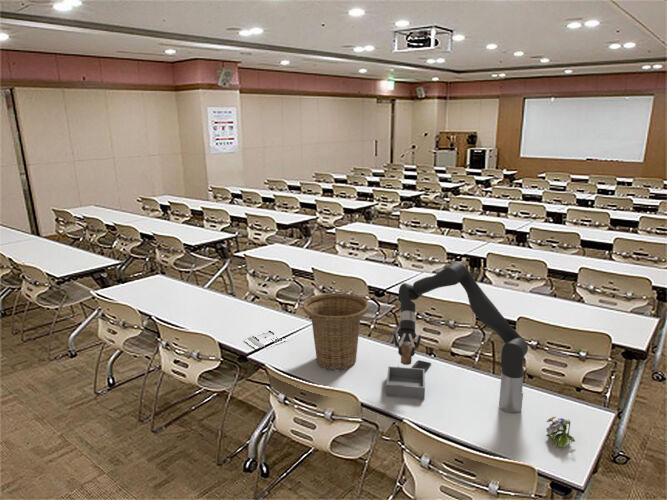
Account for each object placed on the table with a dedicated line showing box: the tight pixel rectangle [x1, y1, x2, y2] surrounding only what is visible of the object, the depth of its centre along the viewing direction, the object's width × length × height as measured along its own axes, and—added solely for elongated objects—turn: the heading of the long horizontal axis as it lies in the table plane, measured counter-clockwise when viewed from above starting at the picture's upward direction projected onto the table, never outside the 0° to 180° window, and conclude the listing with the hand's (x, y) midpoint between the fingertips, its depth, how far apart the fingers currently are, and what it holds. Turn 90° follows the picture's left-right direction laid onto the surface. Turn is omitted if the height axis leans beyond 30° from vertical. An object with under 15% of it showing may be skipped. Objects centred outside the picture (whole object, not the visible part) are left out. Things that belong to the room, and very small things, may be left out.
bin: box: [385, 365, 426, 400], centre depth 237 cm, size 18×18×6 cm
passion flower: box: [545, 416, 576, 449], centre depth 197 cm, size 11×11×12 cm
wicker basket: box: [302, 292, 370, 371], centre depth 261 cm, size 35×35×33 cm
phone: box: [411, 360, 432, 374], centre depth 256 cm, size 8×1×15 cm
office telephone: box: [246, 336, 286, 348], centre depth 292 cm, size 23×3×20 cm
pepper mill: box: [400, 341, 413, 366], centre depth 233 cm, size 5×5×10 cm
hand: (406, 355), depth 231 cm, fingers closed on pepper mill, 5 cm apart
